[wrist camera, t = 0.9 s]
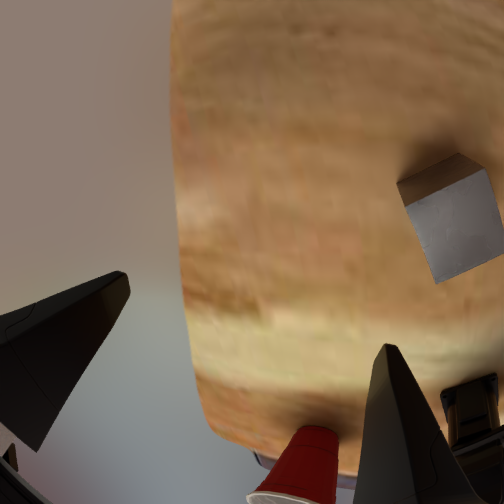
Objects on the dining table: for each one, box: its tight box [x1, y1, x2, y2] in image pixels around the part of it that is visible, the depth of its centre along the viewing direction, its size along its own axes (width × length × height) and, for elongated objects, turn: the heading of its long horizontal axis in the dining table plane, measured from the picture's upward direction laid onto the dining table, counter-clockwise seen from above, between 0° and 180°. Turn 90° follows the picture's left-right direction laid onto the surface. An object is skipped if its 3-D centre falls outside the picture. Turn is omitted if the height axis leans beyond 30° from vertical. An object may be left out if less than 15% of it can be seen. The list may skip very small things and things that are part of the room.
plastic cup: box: [246, 426, 339, 504], centre depth 28 cm, size 11×11×12 cm
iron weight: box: [397, 153, 504, 284], centre depth 15 cm, size 5×5×5 cm
